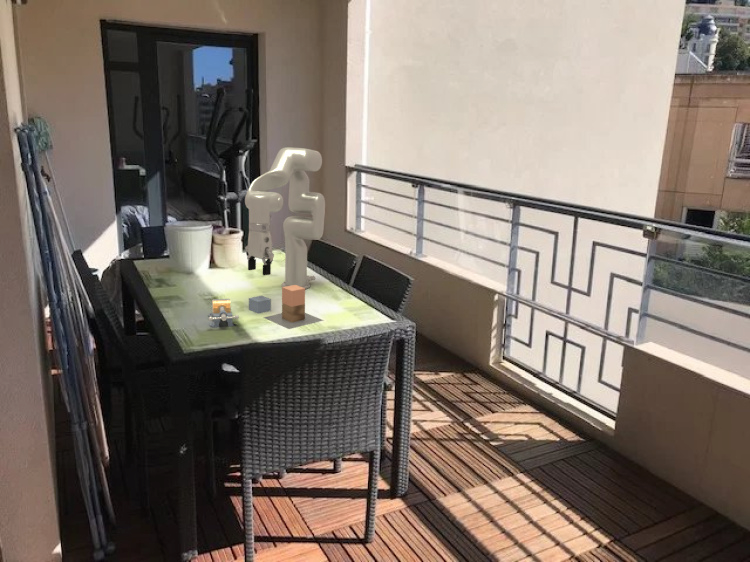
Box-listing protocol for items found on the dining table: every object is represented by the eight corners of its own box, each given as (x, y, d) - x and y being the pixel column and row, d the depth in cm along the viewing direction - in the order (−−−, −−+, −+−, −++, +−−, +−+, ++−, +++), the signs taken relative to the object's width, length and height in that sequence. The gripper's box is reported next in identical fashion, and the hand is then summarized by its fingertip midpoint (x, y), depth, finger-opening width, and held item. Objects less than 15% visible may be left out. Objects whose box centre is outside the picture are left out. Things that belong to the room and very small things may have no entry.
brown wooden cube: (294, 315, 235) (295, 300, 234) (304, 319, 231) (305, 304, 230) (282, 318, 231) (282, 302, 230) (291, 322, 227) (291, 306, 225)
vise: (206, 315, 235) (206, 298, 233) (234, 313, 238) (234, 297, 237) (209, 331, 219) (208, 313, 217) (239, 329, 222) (238, 311, 220)
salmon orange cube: (295, 300, 234) (295, 284, 232) (304, 304, 230) (305, 288, 228) (282, 302, 230) (282, 287, 228) (291, 306, 225) (291, 291, 224)
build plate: (297, 312, 242) (297, 309, 242) (323, 323, 231) (323, 320, 231) (263, 320, 231) (263, 317, 231) (288, 332, 221) (288, 329, 220)
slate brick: (261, 310, 244) (261, 295, 242) (270, 313, 240) (270, 299, 238) (248, 312, 240) (248, 298, 238) (257, 316, 236) (257, 301, 234)
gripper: (281, 230, 227) (280, 275, 232) (254, 223, 239) (254, 266, 243) (264, 231, 222) (264, 278, 226) (237, 224, 234) (238, 269, 238)
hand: (259, 272), depth 235 cm, fingers open, 9 cm apart
